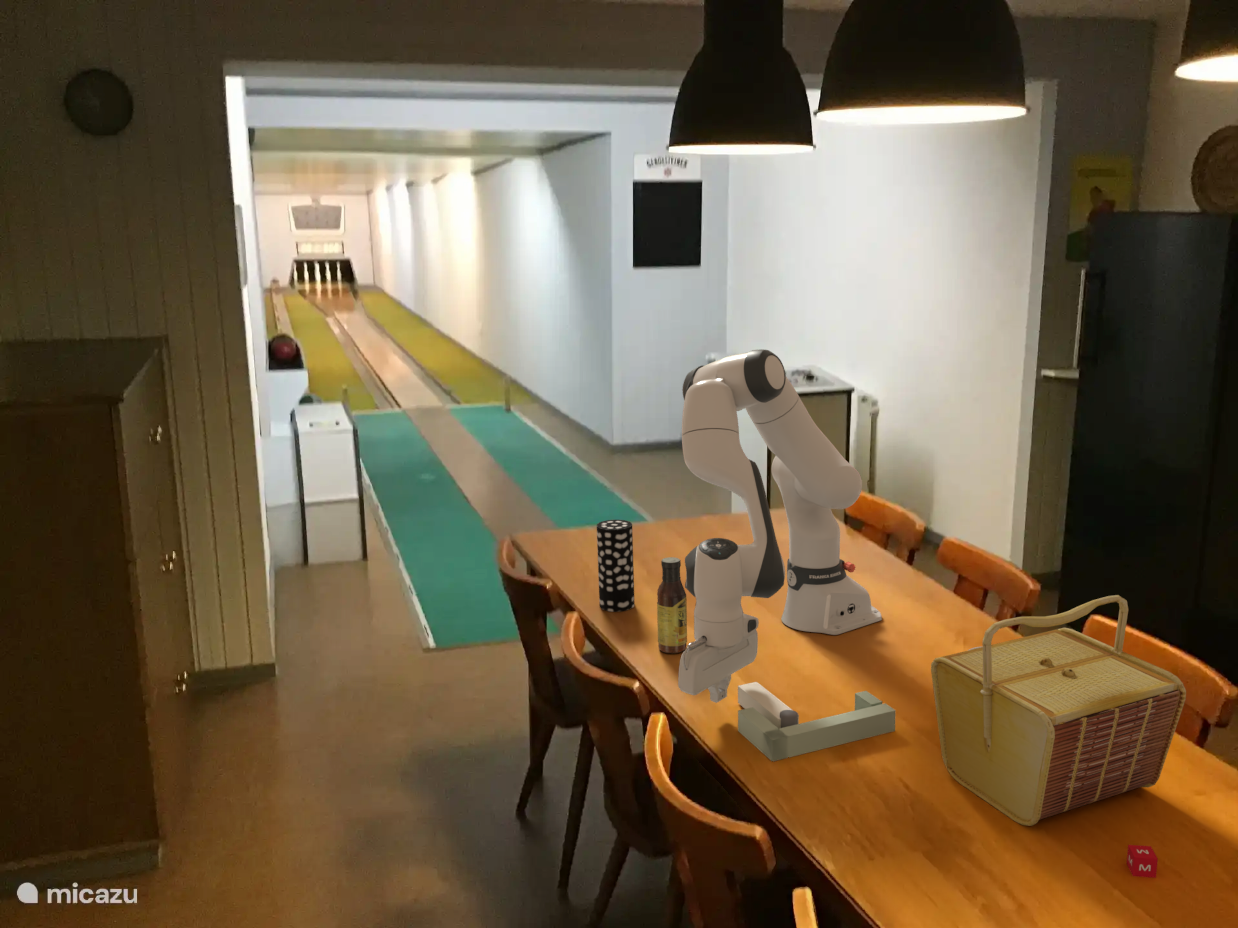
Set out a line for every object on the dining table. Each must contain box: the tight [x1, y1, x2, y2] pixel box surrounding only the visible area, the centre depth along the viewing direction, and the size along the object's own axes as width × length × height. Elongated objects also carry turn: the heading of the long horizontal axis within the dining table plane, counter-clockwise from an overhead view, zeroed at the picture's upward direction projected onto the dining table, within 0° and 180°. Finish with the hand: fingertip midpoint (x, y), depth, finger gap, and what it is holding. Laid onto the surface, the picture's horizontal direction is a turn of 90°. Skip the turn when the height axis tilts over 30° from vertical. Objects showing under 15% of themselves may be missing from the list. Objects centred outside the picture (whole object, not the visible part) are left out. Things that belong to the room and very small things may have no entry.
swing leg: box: [737, 681, 800, 729], centre depth 194 cm, size 17×4×4 cm, turn 22°
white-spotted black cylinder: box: [596, 519, 635, 613], centre depth 251 cm, size 8×8×20 cm
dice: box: [1126, 844, 1159, 879], centre depth 148 cm, size 3×3×3 cm
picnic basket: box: [930, 594, 1187, 827], centre depth 167 cm, size 29×26×30 cm
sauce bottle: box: [656, 556, 688, 654], centre depth 225 cm, size 6×6×20 cm
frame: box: [737, 690, 897, 762], centre depth 190 cm, size 25×12×4 cm, turn 112°
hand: (718, 699), depth 196 cm, fingers closed
